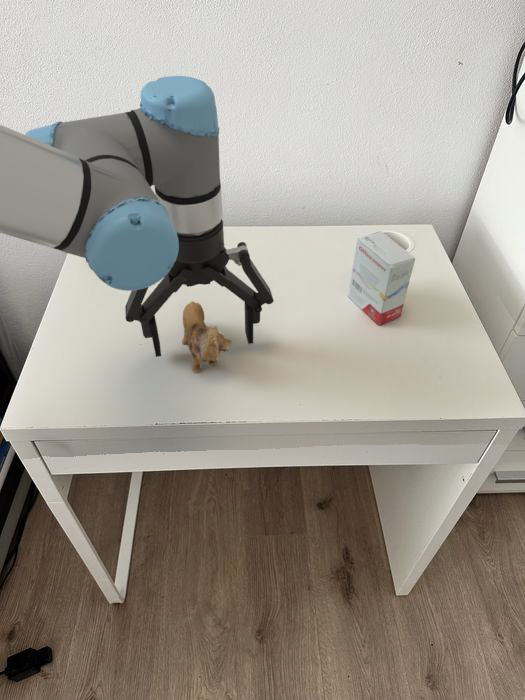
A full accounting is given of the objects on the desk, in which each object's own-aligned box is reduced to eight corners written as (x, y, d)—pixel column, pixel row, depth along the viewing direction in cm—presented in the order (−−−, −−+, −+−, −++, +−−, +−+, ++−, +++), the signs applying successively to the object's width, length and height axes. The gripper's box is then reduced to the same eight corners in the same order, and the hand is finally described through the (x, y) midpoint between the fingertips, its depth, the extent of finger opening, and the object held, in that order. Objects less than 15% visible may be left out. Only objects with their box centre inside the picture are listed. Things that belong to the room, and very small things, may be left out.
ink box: (401, 317, 87) (418, 257, 78) (377, 326, 85) (392, 267, 77) (369, 287, 92) (382, 228, 84) (346, 296, 90) (356, 237, 82)
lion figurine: (236, 378, 77) (235, 334, 71) (201, 390, 76) (197, 346, 69) (198, 316, 86) (194, 271, 80) (166, 326, 85) (160, 281, 78)
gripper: (285, 193, 68) (280, 316, 84) (85, 213, 65) (118, 337, 80) (300, 226, 63) (291, 350, 79) (83, 249, 60) (119, 374, 75)
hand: (204, 343), depth 79 cm, fingers open, 13 cm apart
